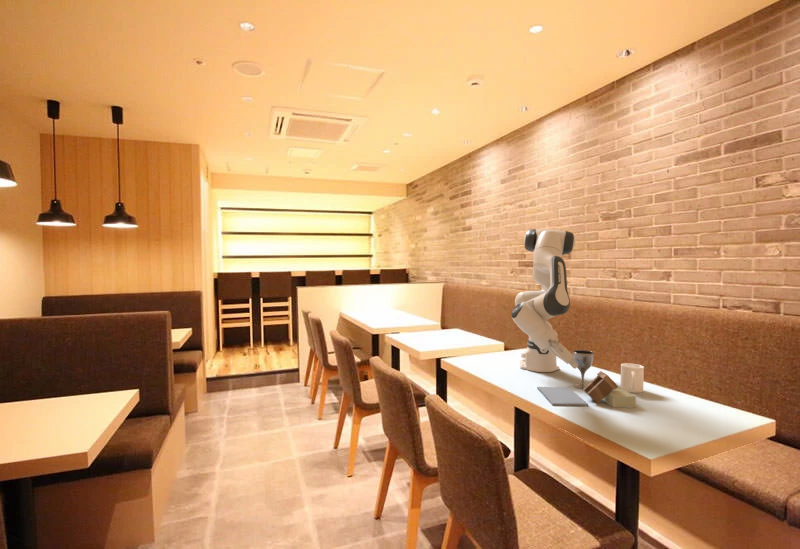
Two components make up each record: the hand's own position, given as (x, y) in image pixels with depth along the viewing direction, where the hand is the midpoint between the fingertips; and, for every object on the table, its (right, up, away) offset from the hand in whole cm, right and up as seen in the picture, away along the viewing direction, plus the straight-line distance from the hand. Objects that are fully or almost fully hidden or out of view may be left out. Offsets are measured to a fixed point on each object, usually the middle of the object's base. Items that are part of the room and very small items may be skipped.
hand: (571, 363), depth 154 cm
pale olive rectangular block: (+17, -14, -1) cm, 22 cm away
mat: (-2, -14, +5) cm, 15 cm away
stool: (+11, -14, 0) cm, 18 cm away
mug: (+30, -14, +12) cm, 35 cm away
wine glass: (+12, -14, +18) cm, 26 cm away
